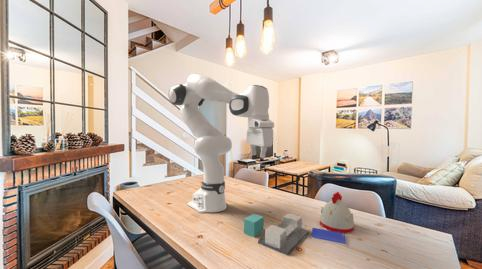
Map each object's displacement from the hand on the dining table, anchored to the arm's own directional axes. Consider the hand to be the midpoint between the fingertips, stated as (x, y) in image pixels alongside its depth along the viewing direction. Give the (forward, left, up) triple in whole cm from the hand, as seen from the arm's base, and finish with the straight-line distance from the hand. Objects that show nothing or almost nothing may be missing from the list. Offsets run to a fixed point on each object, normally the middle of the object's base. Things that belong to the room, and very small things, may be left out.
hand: (257, 156), depth 87 cm
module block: (0, -3, -31) cm, 31 cm away
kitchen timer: (+25, +26, -31) cm, 48 cm away
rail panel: (+12, +1, -31) cm, 34 cm away
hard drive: (+25, +13, -32) cm, 43 cm away
